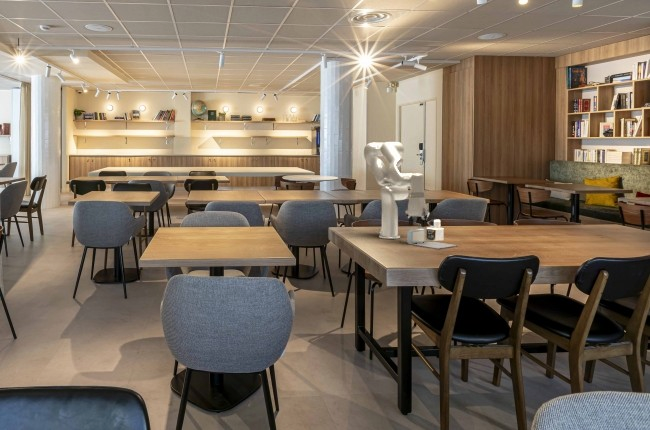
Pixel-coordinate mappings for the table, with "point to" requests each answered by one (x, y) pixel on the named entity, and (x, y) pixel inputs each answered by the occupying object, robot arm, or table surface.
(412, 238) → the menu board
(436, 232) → the medicine bottle
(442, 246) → the mat
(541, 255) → the table surface
